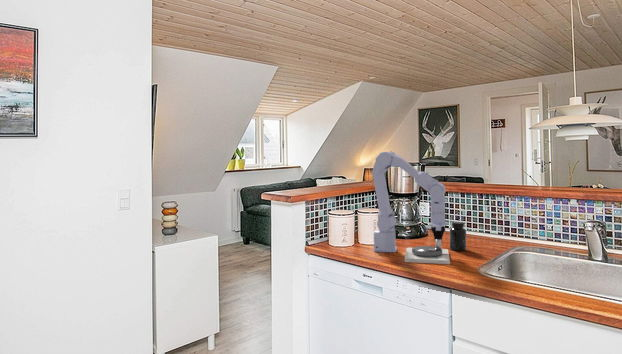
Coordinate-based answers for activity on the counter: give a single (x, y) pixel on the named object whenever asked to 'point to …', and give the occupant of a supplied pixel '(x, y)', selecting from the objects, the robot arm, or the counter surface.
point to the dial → (428, 250)
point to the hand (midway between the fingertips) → (438, 244)
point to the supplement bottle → (457, 237)
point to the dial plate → (420, 259)
